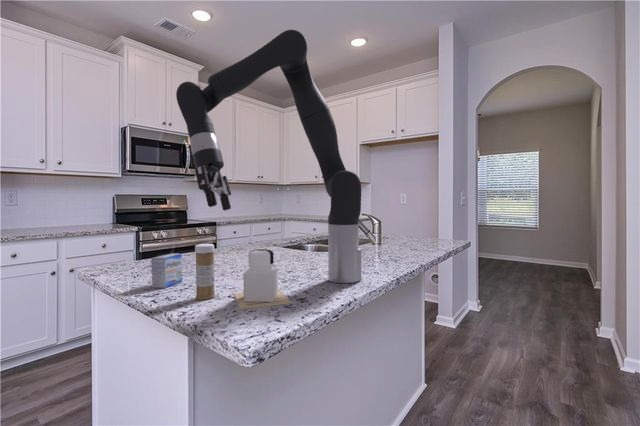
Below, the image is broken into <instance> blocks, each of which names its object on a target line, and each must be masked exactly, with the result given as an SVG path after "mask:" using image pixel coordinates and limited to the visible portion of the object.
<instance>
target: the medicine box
mask: <svg viewBox="0 0 640 426" xmlns="http://www.w3.org/2000/svg"><path fill="white" fill-rule="evenodd" d="M182 256H183V255H182V253H168V254H163V255H158V256H154V257H151V259H150V260H151V261H150V264H151V286H152V289H153V288H154V289H168V288H170V287H173V286H176V285H178V284H180V283H182V282H183V257H182Z"/></svg>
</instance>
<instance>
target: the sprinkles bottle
mask: <svg viewBox="0 0 640 426" xmlns="http://www.w3.org/2000/svg"><path fill="white" fill-rule="evenodd" d="M194 252H195V286H196V288H195V289H196V291H195V292H196V295H195V298H196V299H197V300H201V301H202V300H203V301H204V300H205V301H206V300H211V299H214V297H216V294H215V245H214V244H213V243H200V244H196V245H195V246H194Z"/></svg>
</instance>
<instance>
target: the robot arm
mask: <svg viewBox="0 0 640 426" xmlns="http://www.w3.org/2000/svg"><path fill="white" fill-rule="evenodd" d="M278 67H279V68H280V69H281V72H282V74H283V75H284V77H285V80H286V81H287V83H288V85H289V87H290V90H291V93H292V97H293V101H294V104H295V108H296V111H297V113H298V116H299V120H300V122H301V124H302V127H303V130H304V133H305V136H306V137H307V139H308V143H309V144H310V147H311V149H312V152H313V153H314V156H315V158H316V161H317V162H318V165H319V168H320V173H321V176H322V179H323V182H324V187H325V190H326V193H327V195H328V196H329V197H330V210H329V214H328V216H327V217H328V218H327V221H328V222H327V224H328V225H327V227H328V228H327V229H328V234H327V235H328V237H327V238H328V239H327V241H328V242H327V243H328V246H327V247H328V249H327V250H328V251H327V252H328V253H327V255H328V269H327V270H328V272H327V275H328V278H327V279H328V281H329V282H332V283H336V284H352V283H357V282H359V281H362V249H361V248H359V245H360V244H359V242H360V241H359V238H360V236H359V232H360V231H359V228H360V227H359V226H360V225H359V221H360V220H359V219H360V216H361V213H362V212H361V211H362V210H361V209H362V183H361V180H360V178H359V176H358V174H356V173H355V172H354V171H351V170H348V169H346V167H345V164H344V162H343V160H342V156H341V154H340V149H339V141H338V140H339V139H338V134H337V128H336V125H335V124H336V123H335V120H334V118H333V115H332V112H331V110H330V108H329V106H328V103H327V102H326V99H325V98H324V96H323V95H322V93H321V92H320V90H319V89H318V87H317V85H316V84H315V81H314V79H313V76H312V73H311V70H310V66H309V62H308V40H307V39H306V37H305V35H304V34H303V33H302V32H301V31H298V30H297V29H296V30H295V29H287V30H284V31H282V32H281V33H279V34H278V35H277V36H275V37H274V38H272V39H271V40H270V41H268V42H267V43H266V44H264V45H263V46H262V47H260V48H259V49H257V50H256V51H254V52H253V53H251V54H249V55H248V56H246V57H245V58H242V59H241V60H239V61H237V62H235V63H233V64H231V65H229V66H228V67H225V68H223V69H221V70H218V71H217V72H215V73H212V74H211V75H210V76H209V77H208V79H207V82H208V85H207V86H205V87H204V88H203V89H201V88H200V86H199V85H197V84H196V83H195V82H192V81H184V82H182V83H180V84H179V85H178V87H177V89H176V102H177V106H178V108H179V110H180V112H181V115H182V117H183V120H184V121H185V122H184V123H185V124H186V129H187V133H188V137H189V144H190V150H191V154H192V159H193V163H194V166H195V168H194V172H195V176H196V181H197V185H198V189H199V190H200V191H201V190H202V192H203V194H205V195H204V196H205V199H206V202H207V206H208V207H209V208H212V207H216V206H217V205H218V203H217V198H216V194H217V195H218V196H219V200H220V204H221V207H222V210H223V211H228V210H230V209H232V208H231V207H232V205H231V202H230V198H229V196H231V195H232V192H231V189H230V185H229V181H228V178H227V176H226V175H224V176H223V175H222V173H221V170H222V169H223V168H224V165H225V163H224V159H223V156H222V152H221V147H220V144H219V140H218V138H217V136H216V133H215V132H216V131H215V128H214V124H213V122H212V119H211V118H210V116H209V115H208V113H210V112H211V111H213V109H214V108H216V107H217V106H218V105H220V104H221V103H222V102H223V101H224V100H225V99H227V98H229V97H231V96H234V95H235V94H238V93H239V92H241V91H243V90H245V89H246V88H248V87H249V86H250V85H252V84H253V83H254V82H256V81H257V80H258V79H259V78H260V77H262V76H263V75H265V74H267V73H268V72H270V71H271V70H273V69H275V68H278ZM215 193H216V194H215Z"/></svg>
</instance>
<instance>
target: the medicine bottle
mask: <svg viewBox="0 0 640 426" xmlns="http://www.w3.org/2000/svg"><path fill="white" fill-rule="evenodd" d="M278 269H279V268H278V267H277V266H274V252H273V250H270V249H258V248H257V249H252V250H251V251H249V252H248V269H247V270H246V271H244V272H243V293H244V302H273V301H274V299H275V298H276V296H277V294H278V289H279V281H278V278H279V277H278V274H279V273H278V272H279V270H278Z"/></svg>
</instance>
